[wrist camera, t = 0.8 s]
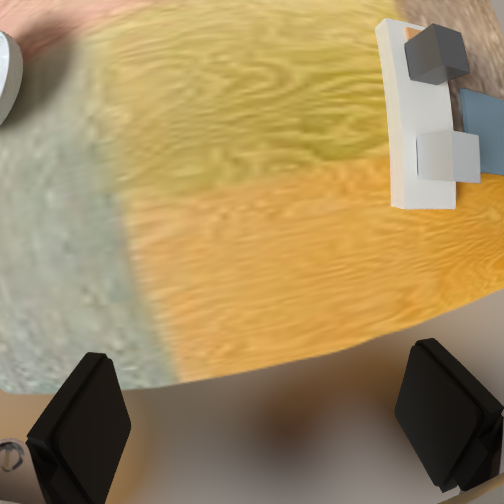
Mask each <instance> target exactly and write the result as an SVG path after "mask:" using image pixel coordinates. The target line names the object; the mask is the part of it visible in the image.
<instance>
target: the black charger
mask: <svg viewBox="0 0 504 504" xmlns="http://www.w3.org/2000/svg"><path fill="white" fill-rule="evenodd" d="M404 46H405V55H406V60H407V66H408V73H409V77H410V80H412V81H418V82H423V83H428V84H432V85H439V84H441V83H444V82H446V81H449V80H452V79H454V78H457V77H460V76H462V75H465V74H468V73H470V70H469V65H468V60H467V56H466V51H465V47H464V43H463V39H462V35H461V33H460V32H457V31H454V30H452V29H449V28H446V27H443V26H440V25H436V24H431V25H430V26H428V27H427V28H426V29H424V30H423V31H421V32H420V33H419V34H417V35H416V36H414V37H413V38H412V39H410V40H409V41H407V42H406V43H405V44H404Z"/></svg>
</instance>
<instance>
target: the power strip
mask: <svg viewBox="0 0 504 504" xmlns="http://www.w3.org/2000/svg"><path fill="white" fill-rule="evenodd" d="M424 29H426V28H425V27H421V26H417V25H414V24H410V23H406V22H402V21H397V20H393V19H388V18H384V19H383V20H382V21H381V22H380V23H379V25H378V26H377V27H376V28H375V32H376V37H377V43H378V49H379V55H380V61H381V68H382V75H383V82H384V90H385V99H386V109H387V120H388V132H389V148H390V171H391V206H393V207H397V208H401V209H456V181H442V180H427V179H418V172H417V150H416V144H417V139H416V136H421V135H427V134H433V133H439V132H445V131H453V120H452V111H451V103H450V95H449V88H448V82H447V81H446V82H444V83H441V84H439V85H432V84H428V83H423V82H418V81H412V80H410V77H409V73H408V66H407V60H406V55H405V46H404V44H405V43H406V42H407V41H409V40H410V39H412V38H413V37H414V36H416V35H417V34H419V33H420V32H421V31H423V30H424Z"/></svg>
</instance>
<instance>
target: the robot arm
mask: <svg viewBox="0 0 504 504" xmlns="http://www.w3.org/2000/svg"><path fill="white" fill-rule="evenodd" d="M503 409H504V407H503V405H501V403H500V402H499V401H498V400H497V399H496V398H495V397H494V396H493V395H492V394H491V393H490V392H489V391H488V390H487V389H486V388H485V387H484V386H483V385H482V384H481V383H480V382H479V381H478V380H477V379H476V378H475V377H474V376H473V375H472V374H471V373H470V372H469V371H468V370H467V369H466V368H465V367H464V366H463V365H462V364H461V363H460V362H459V361H457V359H456V358H455V357H454V356H452V355H451V354H450V353H449V352H448V351H447V350H446V349H445V348H444V347H443V346H442V345H441V344H440V343H439V342H438V341H437V340H435V339H434V338H429V339H423V340H418V341H417V342H416V343H415V345H414V346H412V348H411V351H410V354H409V359H408V363H407V367H406V371H405V374H404V378H403V382H402V385H401V389H400V392H399V396H398V399H397V403H396V406H395V416H396V419H397V420H398V422H399V424H400V426H401V427H402V429H403V431H404V432H405V434H406V436H407V438H408V439H409V441H410V443H411V445H412V446H413V448H414V450H415V452H416V453H417V455H418V457H419V459H420V460H421V462H422V464H423V466H424V468H425V469H426V471H427V473H428V475H429V477H430V478H431V480H432V482H433V484H434V485H435V486H439V487H440V489H441V491H442V493H444V492H446V491H448V490H451V489H453V488H455V487H457V485H458V486H459V487H460V493H459V495H457V496H455V497H453V498H450V499H448V500H446V501H443V502H441V503H439V504H504V417H503V416H502V415H501V413H502V411H503ZM130 430H131V421H130V418H129V415H128V412H127V409H126V406H125V403H124V399H123V396H122V393H121V390H120V386H119V383H118V379H117V376H116V372H115V368H114V365H113V361H112V360H111V359H110V358H108V357H107V355H106V354H104V353H93V352H88V353H86V354H85V356H84V357H83V358H82V360H81V361H80V362H79V364H78V365H77V366H76V368H75V369H74V370H73V372H72V373H71V374H70V376H69V377H68V378H67V380H66V381H65V382H64V384H63V385H62V386H61V388H60V389H59V390H58V392H57V393H56V394H55V396H54V397H53V399H52V400H51V401H50V403H49V404H48V406H47V407H46V408H45V410H44V412H43V413H42V414H41V416H40V417H39V418H38V420H37V422H36V423H35V424H34V426H33V427H32V429H31V430H30V431H29V433H28V434H27V437H28V440H27V441H26V443H24V442H23V441H21V440H18V439H14V438H5V439H2V440H0V504H105V501H106V498H107V495H108V492H109V489H110V487H111V484H112V481H113V478H114V475H115V472H116V469H117V467H118V464H119V461H120V458H121V455H122V453H123V450H124V447H125V444H126V442H127V439H128V436H129V434H130Z"/></svg>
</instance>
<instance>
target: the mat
mask: <svg viewBox="0 0 504 504" xmlns="http://www.w3.org/2000/svg"><path fill="white" fill-rule="evenodd" d="M459 91H460V98H461V106H462V114H463V124H464V133H468V134H474V135H478V136H479V151H480V173H489V174H497V175H504V101H503V100H500V99H497V98H494V97H491V96H488V95H485V94H482V93H478V92H475V91H471V90H468V89H464V88H462V89H459Z"/></svg>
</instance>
